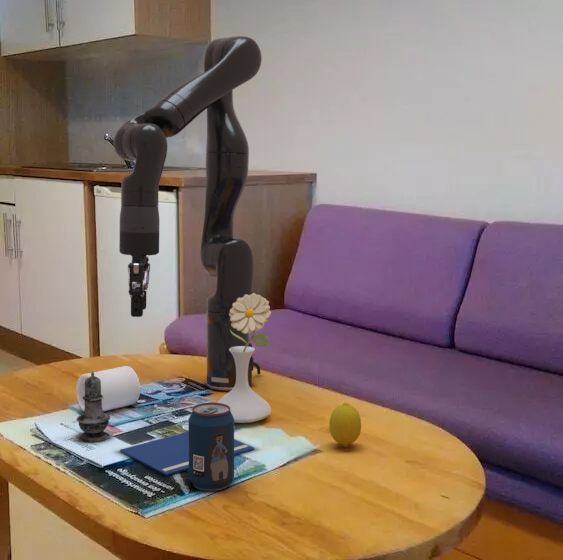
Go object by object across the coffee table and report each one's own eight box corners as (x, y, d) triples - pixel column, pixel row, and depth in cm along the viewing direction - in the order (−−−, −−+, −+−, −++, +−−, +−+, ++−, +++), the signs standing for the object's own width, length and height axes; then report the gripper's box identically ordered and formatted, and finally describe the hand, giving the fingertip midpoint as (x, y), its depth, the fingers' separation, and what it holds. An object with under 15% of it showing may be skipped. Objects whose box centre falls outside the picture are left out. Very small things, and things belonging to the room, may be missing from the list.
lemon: (363, 443, 137) (364, 400, 136) (356, 454, 131) (357, 409, 130) (333, 439, 138) (334, 396, 137) (325, 450, 133) (326, 405, 132)
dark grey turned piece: (117, 434, 140) (116, 370, 138) (96, 444, 134) (95, 377, 133) (91, 429, 142) (89, 366, 140) (70, 439, 137) (68, 373, 135)
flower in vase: (200, 418, 149) (199, 291, 146) (242, 405, 158) (242, 284, 154) (247, 434, 140) (248, 299, 137) (289, 420, 149) (291, 292, 145)
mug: (141, 408, 155) (140, 369, 154) (98, 419, 148) (97, 378, 147) (108, 395, 164) (107, 358, 162) (65, 405, 156) (64, 367, 155)
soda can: (206, 471, 123) (206, 398, 122) (242, 480, 120) (243, 406, 118) (179, 486, 117) (178, 410, 116) (216, 496, 114) (216, 418, 112)
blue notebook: (205, 429, 143) (205, 426, 143) (254, 449, 133) (254, 447, 133) (120, 451, 131) (120, 449, 131) (166, 476, 121) (166, 473, 121)
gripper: (157, 232, 141) (156, 319, 143) (161, 227, 155) (160, 307, 157) (115, 231, 140) (114, 319, 142) (123, 226, 155) (122, 306, 157)
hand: (138, 312), depth 150 cm, fingers open, 8 cm apart
